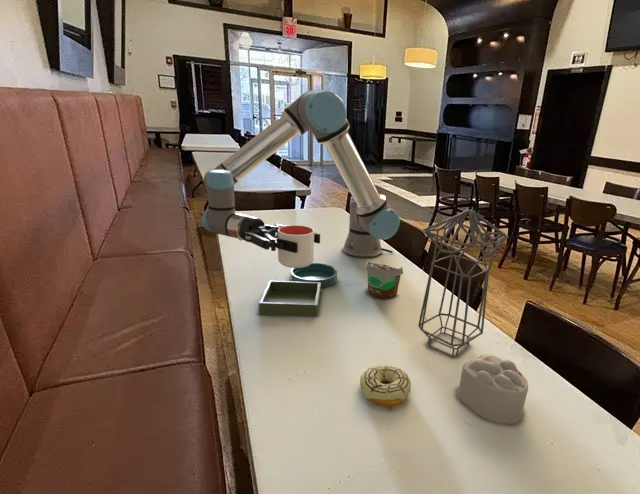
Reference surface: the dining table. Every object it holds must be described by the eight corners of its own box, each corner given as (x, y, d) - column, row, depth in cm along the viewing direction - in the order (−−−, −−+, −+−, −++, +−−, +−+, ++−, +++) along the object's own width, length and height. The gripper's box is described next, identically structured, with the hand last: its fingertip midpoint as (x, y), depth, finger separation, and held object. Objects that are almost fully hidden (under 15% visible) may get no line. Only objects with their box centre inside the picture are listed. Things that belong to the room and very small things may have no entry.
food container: (357, 295, 129) (358, 265, 125) (365, 288, 134) (367, 259, 130) (393, 304, 125) (396, 273, 121) (400, 296, 130) (403, 267, 126)
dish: (337, 271, 145) (338, 263, 144) (336, 289, 131) (336, 281, 130) (293, 270, 144) (293, 262, 143) (287, 288, 130) (287, 279, 129)
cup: (317, 259, 124) (318, 227, 120) (308, 271, 115) (308, 236, 111) (284, 255, 125) (284, 223, 121) (273, 267, 115) (272, 232, 112)
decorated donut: (359, 409, 80) (360, 393, 79) (359, 375, 90) (360, 361, 89) (412, 410, 81) (414, 394, 80) (406, 376, 91) (407, 362, 90)
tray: (320, 292, 128) (320, 282, 127) (317, 316, 114) (317, 305, 113) (269, 290, 127) (269, 280, 125) (259, 314, 112) (258, 303, 111)
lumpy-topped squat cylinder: (484, 378, 93) (490, 345, 90) (533, 412, 83) (543, 376, 80) (451, 393, 87) (457, 358, 84) (500, 432, 77) (509, 394, 74)
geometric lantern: (405, 343, 104) (421, 207, 91) (440, 323, 115) (458, 199, 103) (459, 371, 95) (485, 223, 82) (491, 346, 106) (517, 213, 93)
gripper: (272, 232, 135) (330, 246, 126) (218, 249, 116) (282, 267, 107) (272, 209, 132) (330, 222, 124) (217, 223, 113) (282, 239, 104)
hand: (308, 243), depth 115 cm, fingers closed on cup, 10 cm apart
